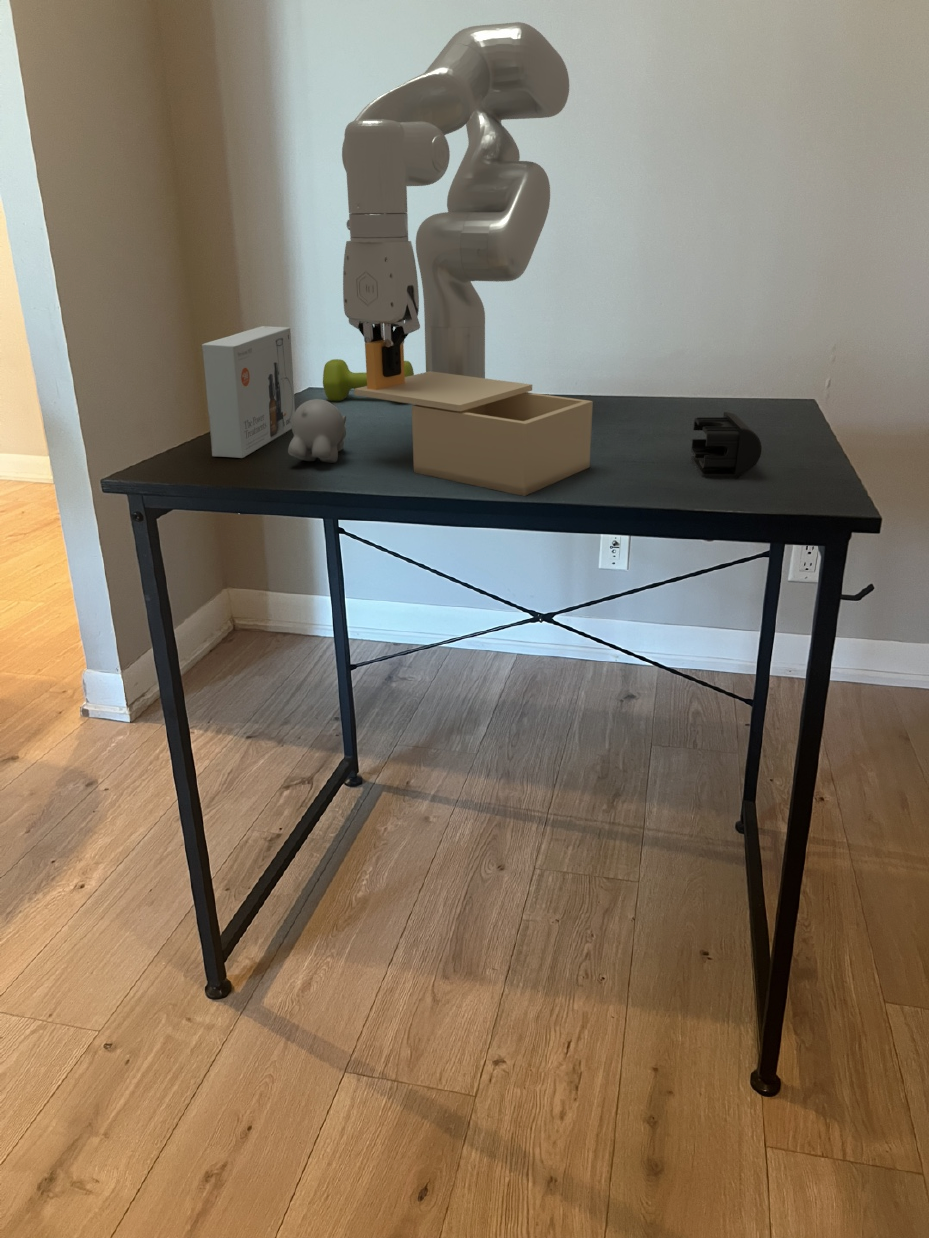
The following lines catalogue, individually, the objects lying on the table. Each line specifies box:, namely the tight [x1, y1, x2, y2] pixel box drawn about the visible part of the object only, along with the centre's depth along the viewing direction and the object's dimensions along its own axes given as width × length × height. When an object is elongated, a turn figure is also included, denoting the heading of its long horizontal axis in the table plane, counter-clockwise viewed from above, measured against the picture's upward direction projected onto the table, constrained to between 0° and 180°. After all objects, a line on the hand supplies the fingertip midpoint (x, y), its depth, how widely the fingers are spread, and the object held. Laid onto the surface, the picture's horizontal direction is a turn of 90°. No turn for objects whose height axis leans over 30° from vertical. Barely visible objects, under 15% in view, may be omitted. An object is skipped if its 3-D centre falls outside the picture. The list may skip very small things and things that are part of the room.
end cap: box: [690, 411, 762, 479], centre depth 119 cm, size 10×7×7 cm
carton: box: [411, 391, 594, 497], centre depth 119 cm, size 16×18×9 cm
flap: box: [353, 340, 533, 411], centre depth 121 cm, size 16×18×7 cm
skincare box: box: [201, 325, 296, 459], centre depth 133 cm, size 21×5×16 cm, turn 168°
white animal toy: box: [287, 398, 347, 464], centre depth 126 cm, size 7×12×8 cm, turn 162°
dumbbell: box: [322, 358, 415, 404], centre depth 162 cm, size 16×8×7 cm, turn 79°
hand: (385, 373), depth 122 cm, fingers closed on flap
